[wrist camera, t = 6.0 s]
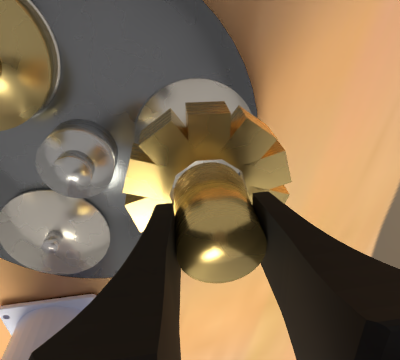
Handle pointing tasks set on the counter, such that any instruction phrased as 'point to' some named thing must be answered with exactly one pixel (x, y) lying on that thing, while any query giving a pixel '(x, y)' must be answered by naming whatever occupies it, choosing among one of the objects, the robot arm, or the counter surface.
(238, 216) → the planet gear
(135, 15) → the carrier
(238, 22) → the counter surface
